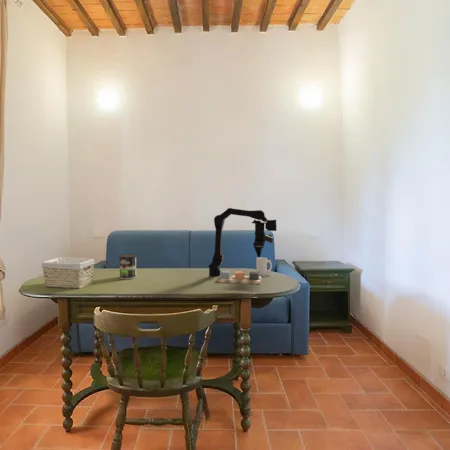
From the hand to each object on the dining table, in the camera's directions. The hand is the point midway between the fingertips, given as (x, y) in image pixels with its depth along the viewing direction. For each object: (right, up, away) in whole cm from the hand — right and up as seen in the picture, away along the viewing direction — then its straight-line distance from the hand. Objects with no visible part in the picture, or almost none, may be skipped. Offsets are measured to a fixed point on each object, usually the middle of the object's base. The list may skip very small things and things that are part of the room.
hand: (259, 255), depth 200 cm
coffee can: (-83, -14, +6) cm, 84 cm away
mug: (+4, -14, +8) cm, 17 cm away
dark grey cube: (-4, -14, -9) cm, 17 cm away
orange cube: (-12, -14, -8) cm, 20 cm away
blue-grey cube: (-21, -14, -7) cm, 26 cm away
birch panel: (-12, -15, -8) cm, 21 cm away
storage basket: (-111, -16, -12) cm, 113 cm away
